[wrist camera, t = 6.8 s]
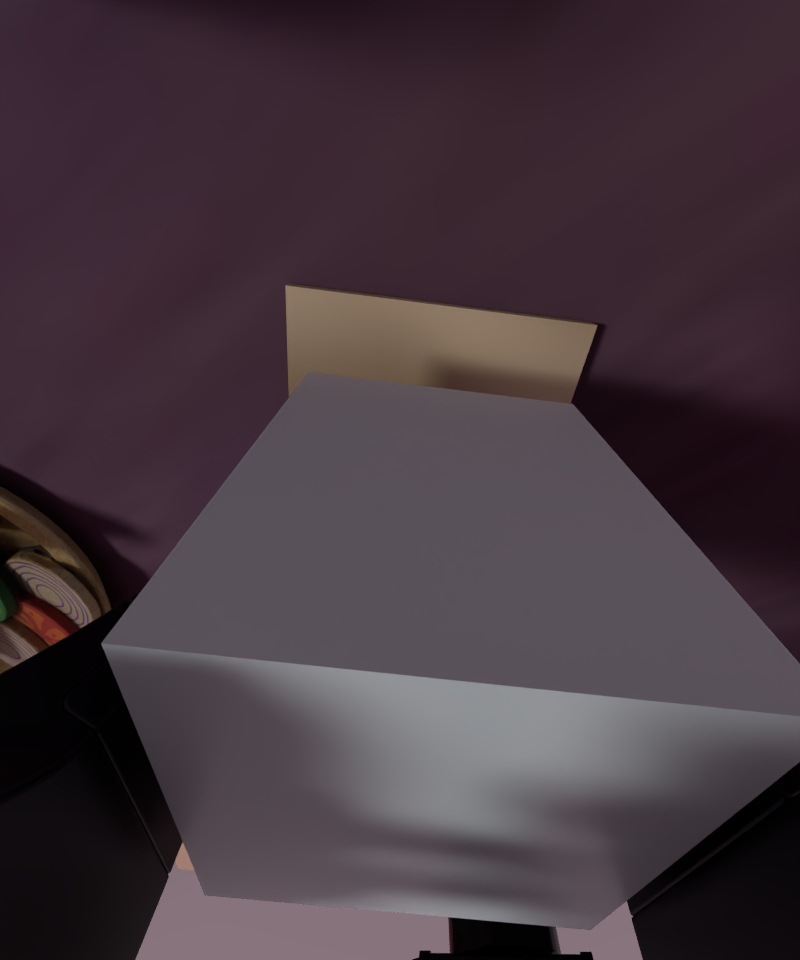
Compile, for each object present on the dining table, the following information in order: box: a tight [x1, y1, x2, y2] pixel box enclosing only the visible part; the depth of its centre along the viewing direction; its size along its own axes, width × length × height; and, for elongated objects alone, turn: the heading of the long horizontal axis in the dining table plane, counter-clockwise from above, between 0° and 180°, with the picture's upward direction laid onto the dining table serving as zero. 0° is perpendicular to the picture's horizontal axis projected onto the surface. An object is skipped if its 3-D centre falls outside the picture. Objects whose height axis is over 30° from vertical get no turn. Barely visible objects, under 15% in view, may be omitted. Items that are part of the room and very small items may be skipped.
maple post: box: [286, 284, 598, 404], centre depth 10 cm, size 8×8×7 cm
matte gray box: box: [101, 372, 800, 930], centre depth 7 cm, size 6×6×7 cm
